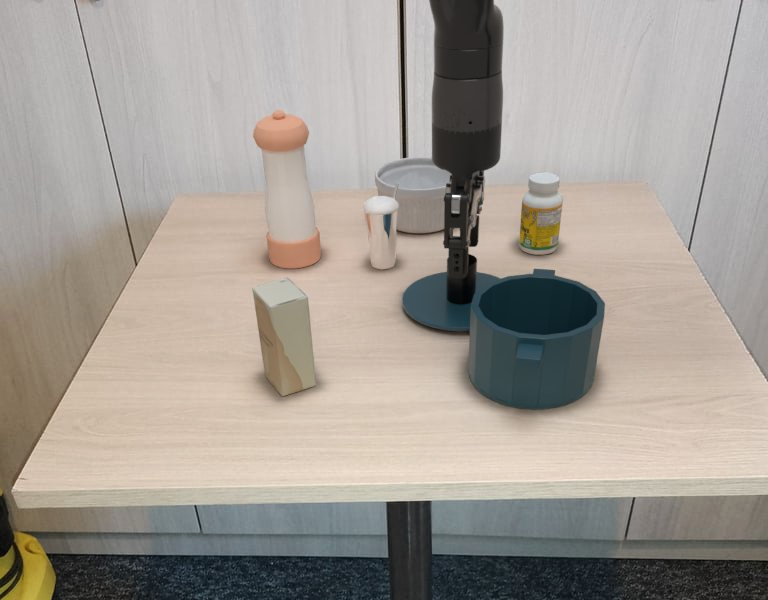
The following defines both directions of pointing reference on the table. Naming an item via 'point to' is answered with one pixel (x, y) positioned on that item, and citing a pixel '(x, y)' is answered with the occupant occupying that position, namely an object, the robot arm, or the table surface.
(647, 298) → the table surface
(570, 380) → the pot
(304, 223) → the pepper shaker
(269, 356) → the box
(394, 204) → the milkshake
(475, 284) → the lid
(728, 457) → the table surface
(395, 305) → the table surface
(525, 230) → the supplement bottle
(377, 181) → the ramekin
